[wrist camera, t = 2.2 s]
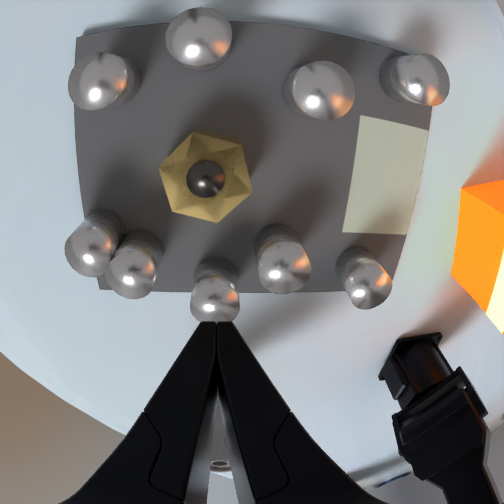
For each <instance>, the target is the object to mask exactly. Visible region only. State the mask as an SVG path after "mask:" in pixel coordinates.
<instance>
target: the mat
mask: <svg viewBox="0 0 504 504" xmlns="http://www.w3.org/2000/svg"><path fill="white" fill-rule="evenodd" d="M229 23H230V25H231V29H232V41H231V50H230V54H229V56H228V58H227V59H226V61H225V62H224V63H223V64H222V65H220V66H219V67H217V68H215V69H213V70H210V71H195V70H192V69H189V68H188V67H186V66H185V65H183V64H182V63H181V62H179V61H178V60H177V59H175V58H174V57H173V56H172V55H171V54H170V52H169V51H168V49H167V46H166V41H165V37H166V32H167V29H168V26H169V25H170V23H159V24H149V25H141V26H133V27H126V28H120V29H114V30H109V31H103V32H98V33H94V34H89V35H85V36H80V37H77V38H76V51H75V65H76V64H77V62H78V61H79V60H80V59H82V58H83V57H84V56H86V55H88V54H90V53H93V52H106V53H110V54H113V55H116V56H120V57H123V58H126V59H129V60H131V61H133V62H134V63H135V64H136V65H137V66H138V67H139V69H140V72H141V76H142V81H141V86H140V89H139V91H138V93H137V94H136V96H135V97H134V98H133V99H132V100H131V101H129V102H128V103H126V104H124V105H121V106H115V107H108V108H102V109H96V110H85V109H82V108H80V107H78V106H77V105H76V104H75V103H74V119H75V139H76V153H77V164H78V174H79V183H80V191H81V198H82V205H83V211H84V217H85V219H86V218H87V217H88V216H89V215H90V214H91V213H92V212H93V211H95V210H97V209H102V208H104V209H109V210H112V211H114V212H115V213H117V214H118V215H119V216H120V217H121V218H122V220H123V222H124V224H125V228H126V234H127V233H129V232H130V231H133V230H136V229H144V230H148V231H150V232H152V233H154V234H155V235H156V236H157V237H158V238H159V239H160V241H161V242H162V245H163V249H164V253H163V257H162V260H161V263H160V267H159V270H158V273H157V276H156V279H155V282H154V285H153V288H152V290H151V291H155V292H192V285H193V278H194V272H195V268H196V266H197V265H198V264H199V263H200V262H201V261H202V260H204V259H206V258H209V257H222V258H225V259H227V260H229V261H230V262H231V263H232V264H233V265H234V266H235V268H236V270H237V277H238V290H239V293H273V292H270V291H269V290H267V289H266V288H265V287H264V286H263V285H262V283H261V281H260V278H259V272H258V267H257V261H256V256H255V250H254V240H255V237H256V235H257V234H258V232H259V231H260V230H261V229H263V228H264V227H266V226H268V225H270V224H275V223H280V224H285V225H288V226H290V227H291V228H292V229H293V230H294V231H295V232H296V234H297V236H298V238H299V240H300V242H301V244H302V246H303V249H304V251H305V253H306V255H307V257H308V259H309V261H310V264H311V275H310V277H309V279H308V281H307V283H306V284H305V285H304V286H303V287H302V288H300V289H299V290H297V291H295V292H329V291H346V290H345V288H344V286H343V284H342V282H341V281H340V279H339V277H338V275H337V273H336V271H335V263H336V260H337V258H338V256H339V255H340V254H341V253H342V252H343V251H344V250H346V249H347V248H349V247H352V246H357V245H359V246H364V247H366V248H367V249H368V250H369V251H370V252H371V253H372V255H373V256H374V257H375V258H376V260H377V261H378V262H379V263H380V265H381V266H382V267H383V269H384V270H385V271H386V272H387V274H388V275H389V276H390V278H391V280H393V277H394V274H395V271H396V268H397V265H398V261H399V258H400V255H401V252H402V248H403V245H404V242H405V238H406V235H407V231H408V227H409V224H410V220H411V216H412V212H413V208H414V204H415V200H416V195H417V191H418V187H419V182H420V177H421V172H422V167H423V162H424V157H425V151H426V145H427V139H428V132H429V125H430V118H431V110H432V106H430V105H424V104H418V103H411V102H404V101H397V100H394V99H392V98H390V97H389V96H388V95H387V94H386V93H385V92H384V91H383V89H382V87H381V85H380V81H379V69H380V67H381V65H382V63H383V62H384V61H385V60H387V59H388V58H392V57H400V56H409V55H410V54H407V53H404V52H401V51H398V50H395V49H392V48H389V47H385V46H382V45H379V44H375V43H372V42H368V41H364V40H360V39H356V38H352V37H348V36H344V35H339V34H334V33H329V32H324V31H319V30H313V29H307V28H301V27H294V26H286V25H277V24H268V23H255V22H238V21H229ZM317 61H329V62H333V63H335V64H338V65H339V66H341V67H342V68H344V69H345V70H346V71H347V72H348V74H349V75H350V76H351V78H352V80H353V83H354V86H355V99H354V103H353V105H352V107H351V108H350V110H349V111H348V112H347V113H346V114H345V115H343V116H342V117H340V118H338V119H335V120H328V121H327V120H320V119H316V118H312V117H309V116H305V115H302V114H298V113H296V112H294V111H293V110H292V109H290V108H289V107H288V105H287V104H286V103H285V101H284V99H283V96H282V84H283V81H284V79H285V77H286V76H287V75H288V74H289V73H290V72H291V71H293V70H294V69H296V68H299V67H302V66H305V65H308V64H311V63H313V62H317ZM197 127H198V128H202V129H206V130H210V131H213V132H217V133H221V134H224V135H228V136H231V137H235V138H238V139H240V141H241V144H242V147H243V152H244V156H245V161H246V165H247V170H248V174H249V179H250V183H251V188H252V193H251V194H250V195H249V196H248V197H246V198H245V199H244V200H243V201H242V202H241V203H240V204H238V205H237V206H236V207H235V208H234V209H233V210H232V211H230V212H229V213H228V214H227V215H226V216H225V217H224V218H223V219H221V220H220V221H219V222H218V223H215V222H212V221H208V220H204V219H200V218H196V217H192V216H188V215H184V214H180V213H176V212H172V209H171V206H170V203H169V200H168V197H167V194H166V191H165V188H164V185H163V181H162V178H161V175H160V172H159V168H158V167H159V166H160V165H161V164H162V163H163V162H164V160H165V159H166V158H167V157H168V156H169V155H170V154H171V153H172V152H173V151H174V150H175V149H176V148H177V147H178V146H179V145H180V144H181V143H182V142H183V141H184V140H185V139H186V138H187V137H188V136H189V135H190V134H191V133H192V132H193V131H194V130H195V129H196V128H197ZM97 280H98V284H99V288H100V289H103V290H113V289H112V288H111V287H110V286H109V284H108V282H107V279H106V272H105V273H103V274H102V275H100V276H98V277H97Z"/></svg>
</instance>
